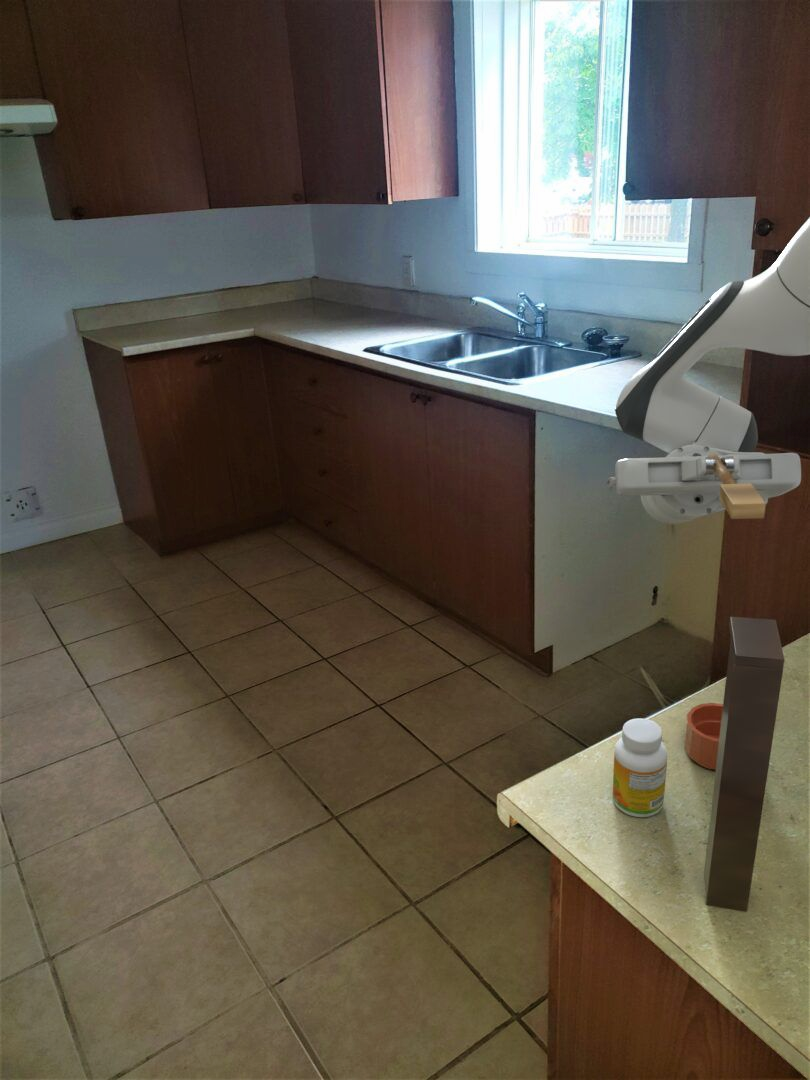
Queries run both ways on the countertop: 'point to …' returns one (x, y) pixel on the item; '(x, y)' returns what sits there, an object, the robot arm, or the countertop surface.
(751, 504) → the tan wooden mallet
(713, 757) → the bowl
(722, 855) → the tall brown pillar
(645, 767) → the supplement bottle
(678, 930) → the countertop surface
